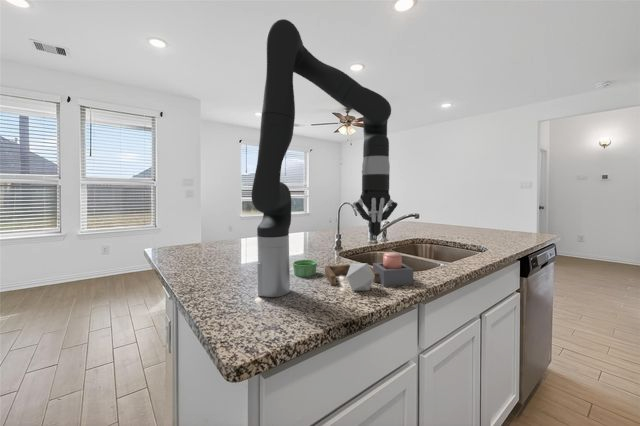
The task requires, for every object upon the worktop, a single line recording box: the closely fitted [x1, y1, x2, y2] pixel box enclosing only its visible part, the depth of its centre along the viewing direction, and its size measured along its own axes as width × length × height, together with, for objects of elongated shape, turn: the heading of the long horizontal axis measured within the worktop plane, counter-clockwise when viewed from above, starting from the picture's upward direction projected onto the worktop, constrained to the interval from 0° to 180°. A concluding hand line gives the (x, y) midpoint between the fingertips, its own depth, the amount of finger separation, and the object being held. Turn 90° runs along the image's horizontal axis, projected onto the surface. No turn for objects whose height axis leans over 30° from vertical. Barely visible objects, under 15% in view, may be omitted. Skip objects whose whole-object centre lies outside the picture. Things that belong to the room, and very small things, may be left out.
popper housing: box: [372, 262, 414, 287], centre depth 93 cm, size 10×10×5 cm
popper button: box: [382, 251, 403, 269], centre depth 93 cm, size 6×6×6 cm
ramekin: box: [292, 259, 318, 278], centre depth 103 cm, size 9×9×4 cm
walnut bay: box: [324, 264, 380, 286], centre depth 97 cm, size 16×14×3 cm
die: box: [345, 262, 375, 292], centre depth 85 cm, size 8×9×10 cm
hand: (374, 235), depth 79 cm, fingers closed
